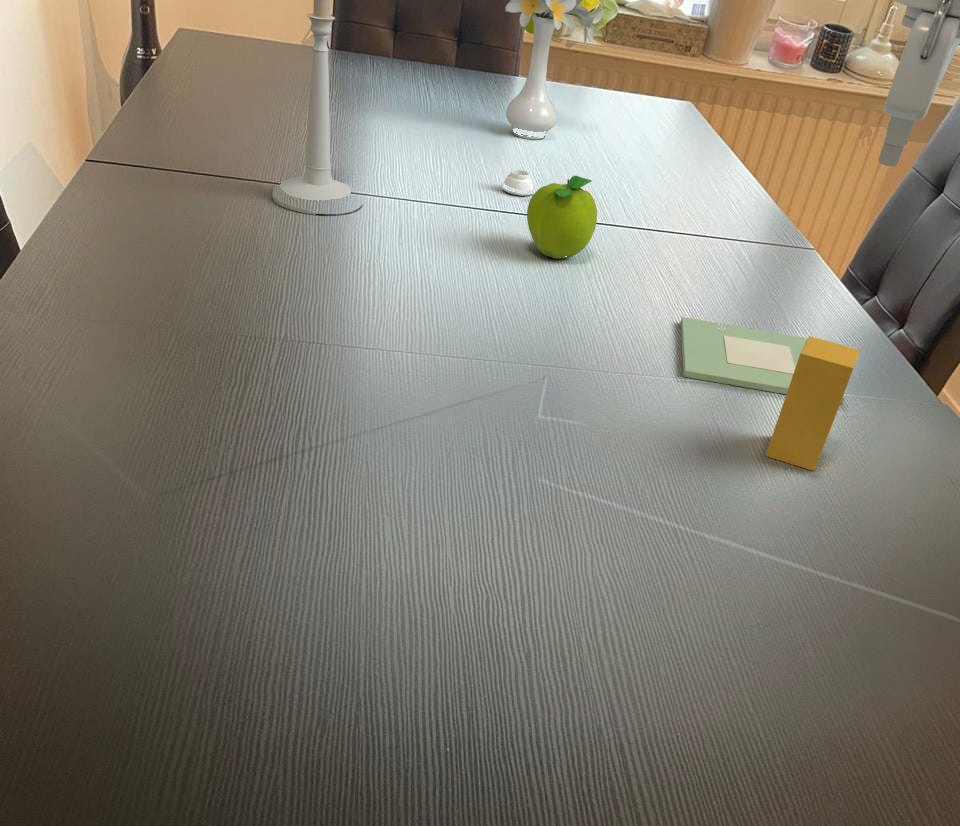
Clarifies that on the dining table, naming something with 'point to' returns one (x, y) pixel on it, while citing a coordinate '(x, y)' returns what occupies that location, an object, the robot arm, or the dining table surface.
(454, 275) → the dining table surface
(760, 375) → the mat
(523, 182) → the white jar
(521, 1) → the flower vase
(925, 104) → the robot arm
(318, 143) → the candlestick
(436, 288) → the dining table surface
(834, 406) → the yellow box
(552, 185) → the fruit
